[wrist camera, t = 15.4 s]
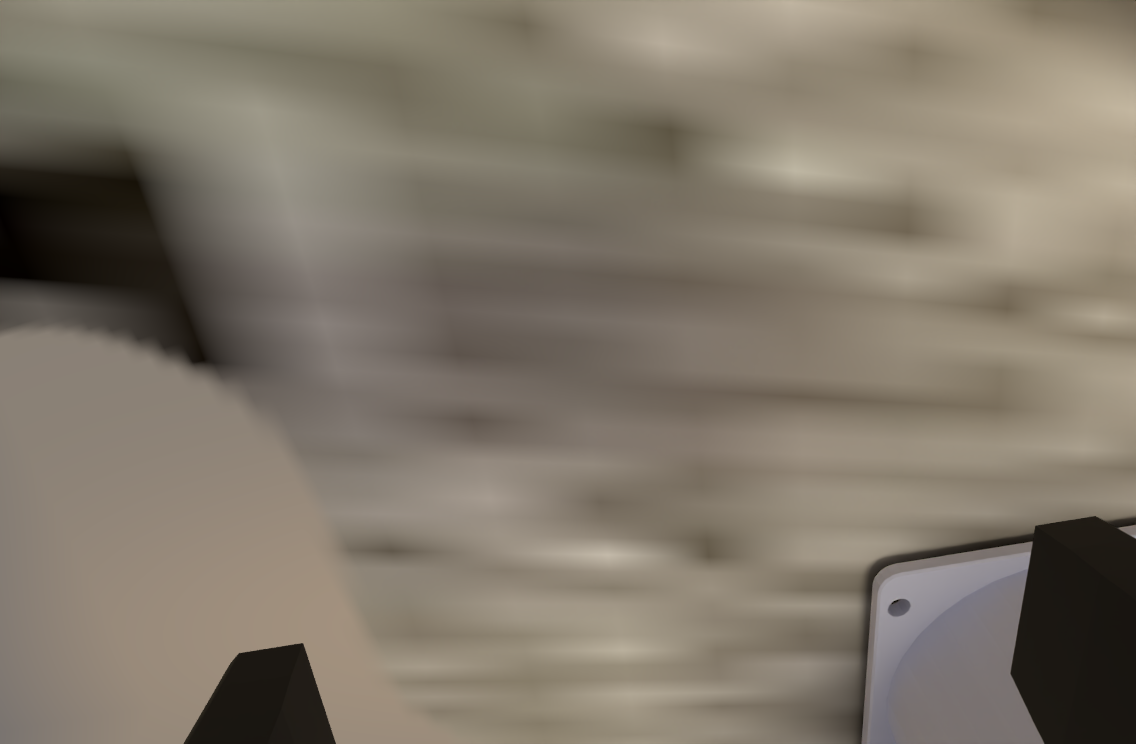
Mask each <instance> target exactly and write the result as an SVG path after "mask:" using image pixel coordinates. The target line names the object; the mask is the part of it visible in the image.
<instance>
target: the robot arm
mask: <svg viewBox="0 0 1136 744" xmlns="http://www.w3.org/2000/svg"><path fill="white" fill-rule="evenodd" d="M898 599H900V600H899V601H898V602H897V603H894V604H891V603H892V602H893V601H895V600H898ZM184 744H336V743H335V740H334V737H333V734H332V730H331V728H330V724H329V722H328V718H327V715H326V712H325V709H324V706H323V703H322V700H321V697H320V694H319V691H318V687H317V684H316V681H315V678H314V675H313V672H312V669H311V666H310V663H309V660H308V657H307V654H306V651H305V648H304V645H303V643H301V644H294V645H288V646H282V647H276V648H269V649H263V650H257V651H251V652H245V653H239V654H238V655H237V657H235V659H234V660H233V661H232V662H231V664H230V665H229V667H228V669H227V670H226V672H225V674H224V675H223V677H222V679H221V681H220V682H219V684H218V686H217V687H216V689H215V691H214V693H213V694H212V696H211V698H210V700H209V701H208V703H207V705H206V706H205V708H204V710H203V712H202V713H201V715H200V717H199V719H198V720H197V722H196V724H195V725H194V727H193V729H192V730H191V732H190V734H189V736H188V737H187V739H186V740H185V742H184ZM862 744H1136V525H1132V526H1126V527H1120V528H1116V527H1114V526H1112V525H1111V524H1109V523H1107V522H1105V521H1103V520H1101V519H1100V518H1098V517H1096V516H1094V517H1087V518H1081V519H1075V520H1069V521H1062V522H1056V523H1050V524H1044V525H1038V526H1035V532H1034V538H1033V542H1027V543H1020V544H1014V545H1008V546H1002V547H996V548H989V549H983V550H977V551H971V552H964V553H958V554H952V555H946V556H940V557H933V558H927V559H921V560H915V561H909V562H902V563H896V564H892V565H889V566H887V567H885V568H884V569H882V570H881V571H880V572H879V573H878V574H877V575H876V576H875V578H874V581H873V586H872V601H871V615H870V630H869V644H868V659H867V673H866V687H865V702H864V716H863V731H862Z"/></svg>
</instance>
